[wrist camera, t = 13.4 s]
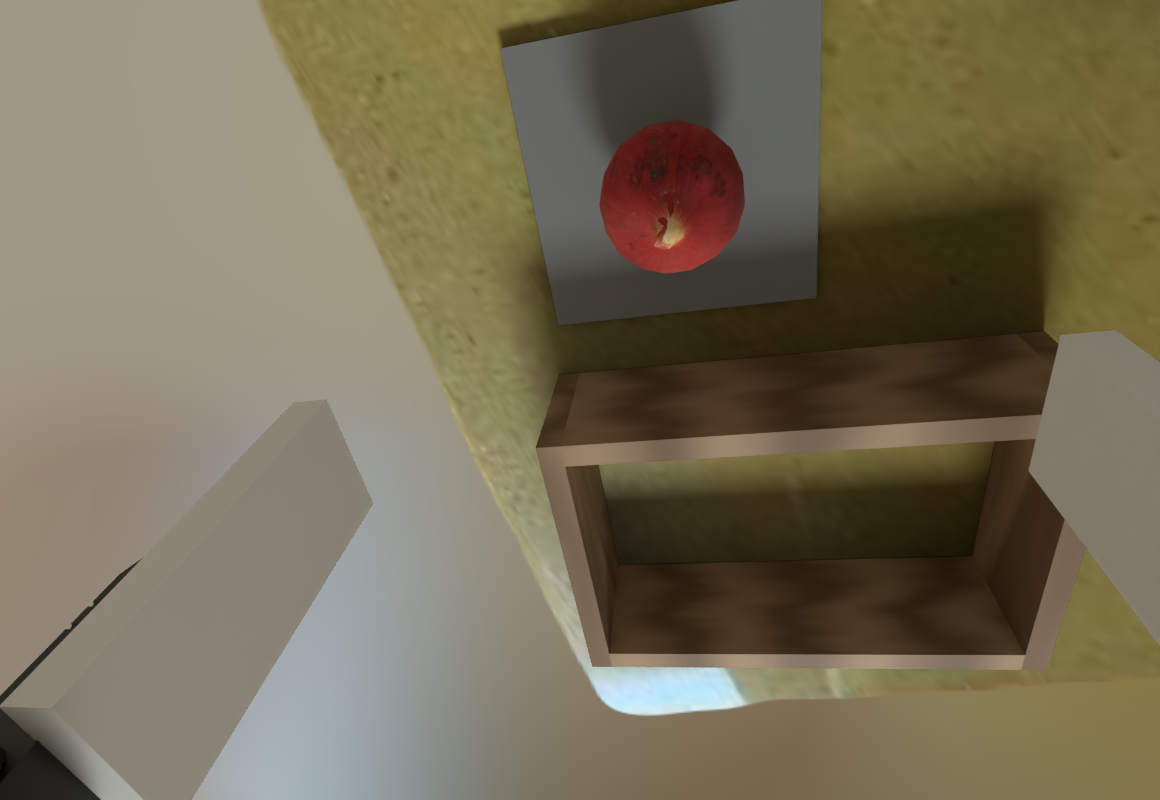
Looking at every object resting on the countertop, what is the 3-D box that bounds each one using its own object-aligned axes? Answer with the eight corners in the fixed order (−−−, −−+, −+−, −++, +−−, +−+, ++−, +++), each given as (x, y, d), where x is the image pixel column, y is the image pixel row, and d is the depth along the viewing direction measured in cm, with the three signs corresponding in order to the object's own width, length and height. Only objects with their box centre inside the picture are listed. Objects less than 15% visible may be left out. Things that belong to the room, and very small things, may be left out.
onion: (597, 124, 28) (571, 161, 21) (730, 95, 26) (748, 125, 20) (621, 250, 31) (605, 319, 24) (742, 229, 29) (761, 296, 23)
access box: (1044, 331, 31) (1130, 408, 25) (990, 569, 39) (1046, 669, 33) (559, 374, 36) (535, 448, 30) (604, 577, 44) (592, 666, 38)
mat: (819, -17, 24) (822, -17, 24) (814, 293, 31) (816, 297, 31) (503, 47, 27) (500, 48, 27) (560, 320, 34) (558, 325, 33)
